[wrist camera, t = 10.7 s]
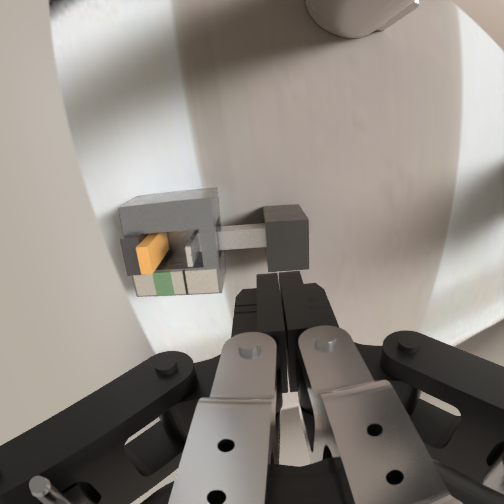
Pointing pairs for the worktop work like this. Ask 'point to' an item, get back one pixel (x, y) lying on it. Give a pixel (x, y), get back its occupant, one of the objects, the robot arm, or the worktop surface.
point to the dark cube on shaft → (266, 238)
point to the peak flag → (152, 251)
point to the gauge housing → (175, 242)
